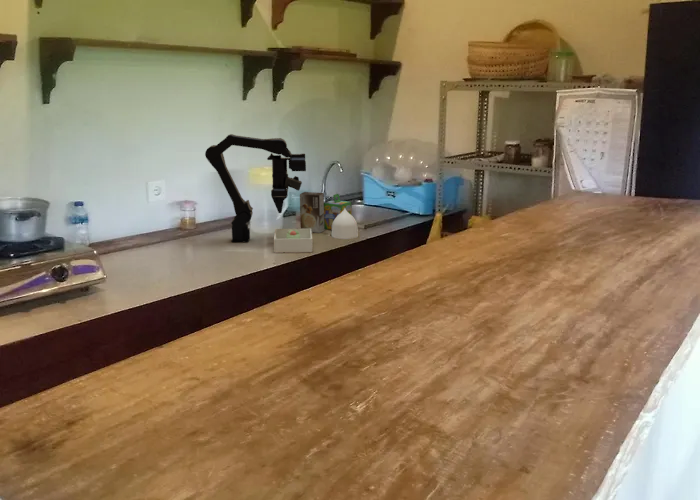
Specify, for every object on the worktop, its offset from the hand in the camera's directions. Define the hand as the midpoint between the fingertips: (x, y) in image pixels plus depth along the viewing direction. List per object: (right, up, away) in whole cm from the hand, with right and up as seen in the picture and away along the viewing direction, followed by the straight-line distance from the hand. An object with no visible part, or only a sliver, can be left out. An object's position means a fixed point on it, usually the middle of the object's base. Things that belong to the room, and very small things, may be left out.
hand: (280, 210), depth 268 cm
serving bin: (+6, -14, -7) cm, 17 cm away
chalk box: (+22, -6, +24) cm, 34 cm away
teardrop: (+25, -10, +11) cm, 29 cm away
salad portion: (+6, -14, -7) cm, 16 cm away
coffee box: (+12, -8, +20) cm, 24 cm away
